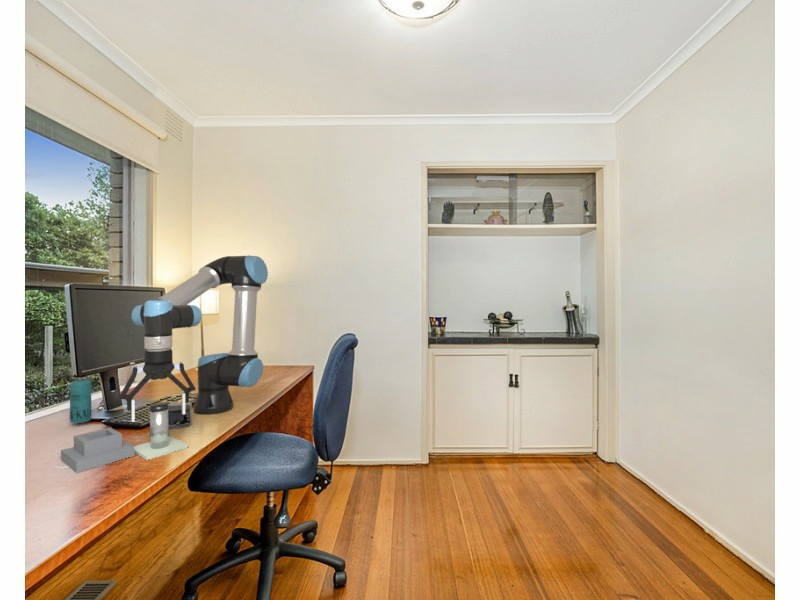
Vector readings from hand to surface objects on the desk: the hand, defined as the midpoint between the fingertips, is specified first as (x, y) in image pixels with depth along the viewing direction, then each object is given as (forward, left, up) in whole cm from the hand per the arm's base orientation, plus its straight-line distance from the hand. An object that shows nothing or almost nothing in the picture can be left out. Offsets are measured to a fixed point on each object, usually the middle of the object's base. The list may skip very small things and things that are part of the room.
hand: (159, 416), depth 127 cm
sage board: (0, 0, -10) cm, 10 cm away
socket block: (+14, -7, -10) cm, 19 cm away
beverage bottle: (+7, -48, -10) cm, 50 cm away
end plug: (0, 0, -9) cm, 9 cm away
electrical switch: (-13, -16, -10) cm, 23 cm away
